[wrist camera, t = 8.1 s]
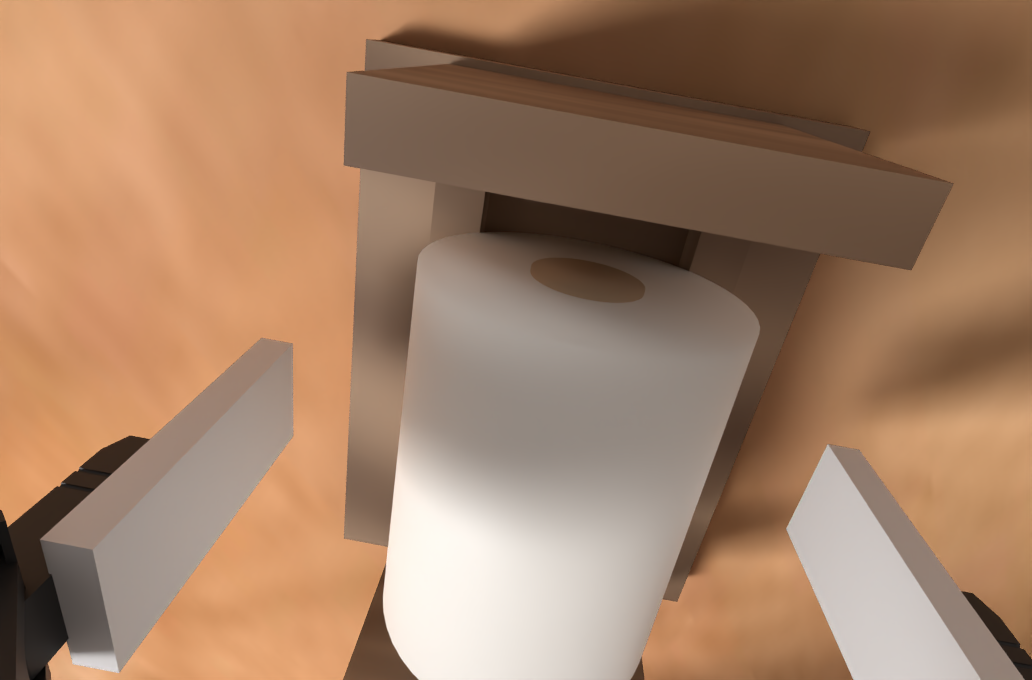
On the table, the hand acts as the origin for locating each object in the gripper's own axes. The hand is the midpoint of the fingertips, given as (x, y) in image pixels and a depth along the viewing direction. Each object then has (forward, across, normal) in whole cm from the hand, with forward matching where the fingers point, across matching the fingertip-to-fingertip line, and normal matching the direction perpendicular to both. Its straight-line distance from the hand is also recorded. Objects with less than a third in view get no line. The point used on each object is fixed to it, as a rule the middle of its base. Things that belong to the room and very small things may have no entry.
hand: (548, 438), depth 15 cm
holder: (+4, 0, 0) cm, 4 cm away
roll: (+3, 0, 0) cm, 3 cm away
